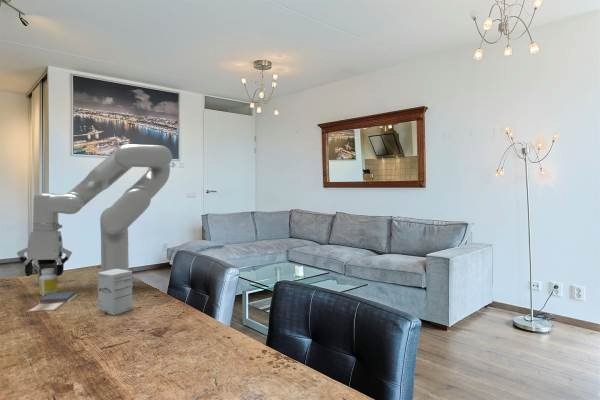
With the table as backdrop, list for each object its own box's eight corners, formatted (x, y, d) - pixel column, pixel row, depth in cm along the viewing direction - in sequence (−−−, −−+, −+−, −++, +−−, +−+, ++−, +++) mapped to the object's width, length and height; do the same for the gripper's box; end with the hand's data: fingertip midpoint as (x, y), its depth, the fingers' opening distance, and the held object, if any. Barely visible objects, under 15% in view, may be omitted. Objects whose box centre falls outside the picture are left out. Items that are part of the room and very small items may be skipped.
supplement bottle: (60, 294, 141) (60, 267, 141) (49, 298, 136) (49, 270, 136) (47, 293, 142) (46, 267, 142) (35, 298, 137) (34, 270, 136)
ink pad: (75, 294, 138) (75, 291, 138) (66, 301, 130) (66, 298, 130) (50, 296, 136) (50, 292, 136) (39, 303, 128) (39, 299, 128)
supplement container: (50, 280, 161) (49, 255, 161) (61, 282, 159) (61, 257, 158) (34, 284, 155) (33, 258, 155) (45, 286, 153) (44, 260, 152)
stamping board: (77, 296, 138) (77, 293, 138) (56, 313, 121) (56, 309, 121) (49, 298, 136) (49, 295, 136) (23, 314, 119) (23, 311, 119)
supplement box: (97, 312, 122) (96, 272, 121) (118, 305, 128) (117, 267, 128) (112, 315, 118) (112, 275, 118) (133, 309, 125) (132, 270, 124)
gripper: (76, 227, 143) (74, 272, 144) (23, 226, 140) (22, 273, 140) (68, 229, 136) (66, 277, 136) (12, 228, 133) (11, 277, 133)
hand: (44, 275), depth 138 cm, fingers open, 9 cm apart
